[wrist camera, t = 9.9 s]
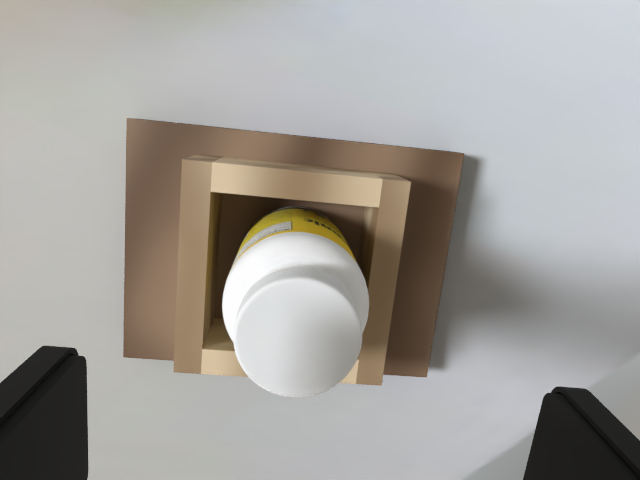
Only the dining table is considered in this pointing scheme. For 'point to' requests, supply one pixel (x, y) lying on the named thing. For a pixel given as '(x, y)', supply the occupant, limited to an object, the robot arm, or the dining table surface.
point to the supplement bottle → (295, 303)
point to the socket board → (256, 201)
